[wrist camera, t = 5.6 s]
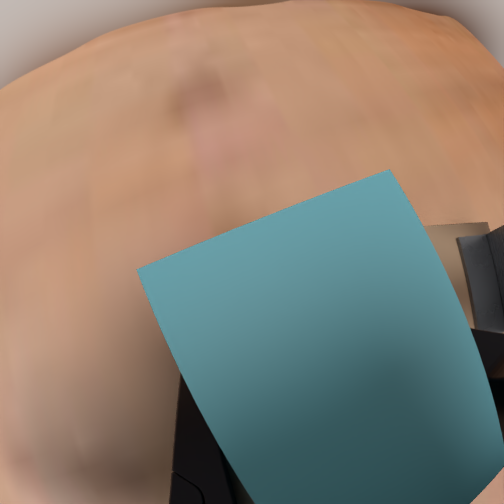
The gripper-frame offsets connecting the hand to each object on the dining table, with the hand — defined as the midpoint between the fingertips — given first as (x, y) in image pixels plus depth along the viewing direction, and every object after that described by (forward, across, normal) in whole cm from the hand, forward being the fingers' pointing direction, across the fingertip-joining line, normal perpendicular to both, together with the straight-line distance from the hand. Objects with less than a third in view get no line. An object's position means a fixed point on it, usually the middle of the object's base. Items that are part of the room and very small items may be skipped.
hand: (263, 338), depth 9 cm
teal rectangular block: (+4, 0, +6) cm, 7 cm away
